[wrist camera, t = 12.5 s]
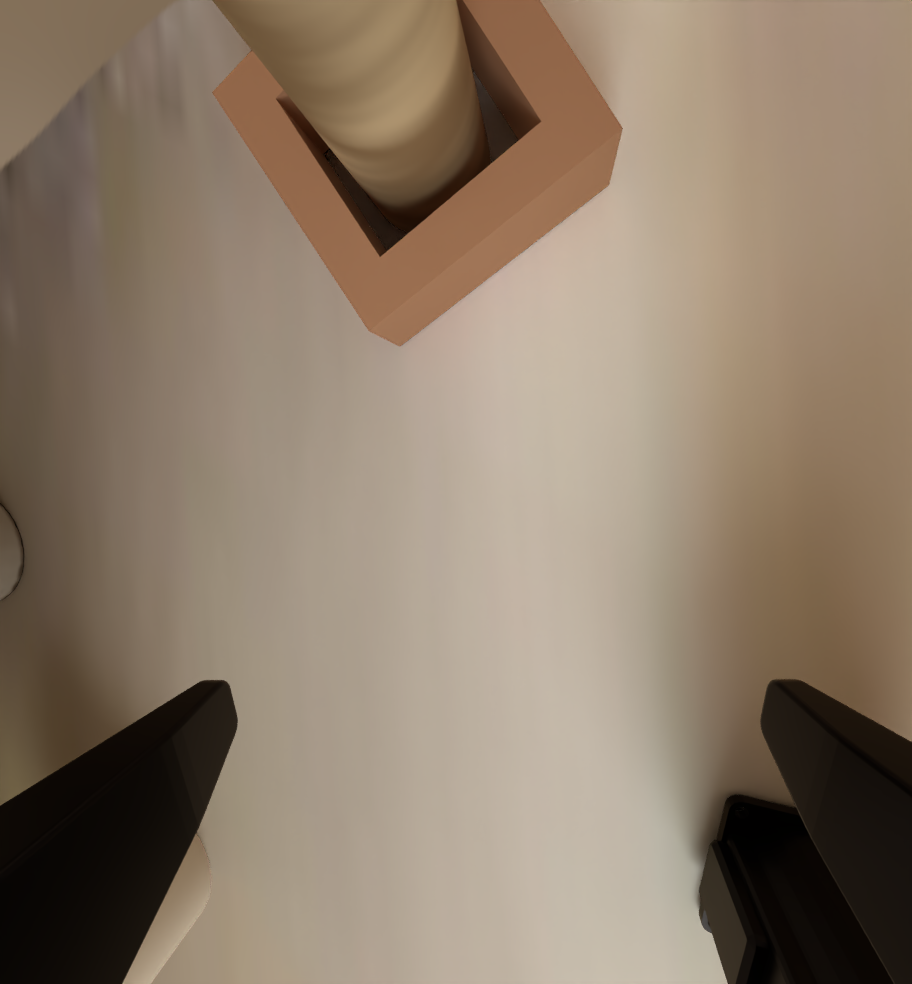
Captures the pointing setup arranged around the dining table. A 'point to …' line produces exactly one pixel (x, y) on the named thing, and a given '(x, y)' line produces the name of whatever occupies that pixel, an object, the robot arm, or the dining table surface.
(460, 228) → the socket
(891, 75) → the dining table surface
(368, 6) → the peg
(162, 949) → the base with upright slab
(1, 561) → the bottle
